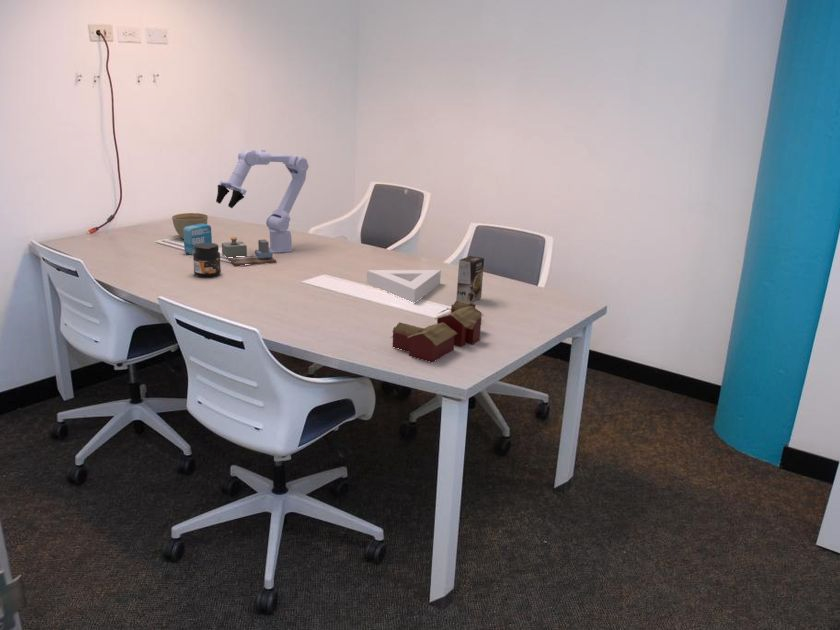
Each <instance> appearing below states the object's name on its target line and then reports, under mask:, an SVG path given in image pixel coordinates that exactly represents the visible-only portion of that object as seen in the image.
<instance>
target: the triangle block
mask: <svg viewBox="0 0 840 630" xmlns="http://www.w3.org/2000/svg"><path fill="white" fill-rule="evenodd" d="M441 273H442V269H380V270H379V269H372V270H371V269H369V270H368V269H367V270H366V284H367V283H368V284H370V285H373V286H375V287H377V288H380V289H382V290H385V291H387V292H390V293H392V294H394V295H397V296H399V297H401V298H404V299H406V300H409V301H411V302H413V303H414V302H416V301H417V300H419V299H420V298H421V297H423V296H424V295H425V296H426V295H428V294H429V293H430V292H431V291H433V290H434V289H436V288H437V287H438V286H439V285H441V277H442V275H441ZM368 284H367V285H368ZM370 285H369V286H370ZM437 285H438V286H437ZM375 287H374V288H375ZM377 288H376V289H377ZM433 288H434V289H433ZM432 289H433V290H432ZM382 290H381V291H382ZM428 292H429V293H428ZM427 293H428V294H427ZM425 296H424V297H425ZM424 297H423V298H424ZM421 299H422V298H421ZM421 299H420V300H421ZM420 300H419V301H420ZM417 302H418V301H417ZM417 302H416V303H417Z"/></svg>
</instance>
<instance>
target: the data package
mask: <svg viewBox="0 0 840 630" xmlns="http://www.w3.org/2000/svg"><path fill="white" fill-rule="evenodd" d="M183 234H184V240H183V247H184V248H183V249H184V253H186V254H188V255H192V256H193V253H194V252H195V251H194V245H196V244H199V243H213V241H212V238H213V237H212V226H211V225H209V224H207V225H206V224H197V225H192V226H187V227H185V228H184V229H183Z"/></svg>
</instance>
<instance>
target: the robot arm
mask: <svg viewBox="0 0 840 630" xmlns="http://www.w3.org/2000/svg"><path fill="white" fill-rule="evenodd" d="M271 162H272V163H282V164H284V165H285V167H286V169H287V171H288V172H289V173H290V176H291V178H292V179H291V181H290V182H289V185H288V187H287V189H286V191H285V192H284V195H283V197H282V199H281V201H280V203H279V205H278V207H277V209H275V210H273V211H272V212H271V214H270V215H269V216H267V218H266V223H265V224H266V225H265V226H267V228H268V231H269V250H270V251H272V252H273V254H274V253H275V254H276V253H287V252H293V249H292V246H293V245H292V234H291V231H289V226H290V221H291V216H290V213H291V210H292V208H293V206H294V204H295V202H296V200H297V198H298V196H299V194H300V192H301V190H302V187H303V186H304V184H305V182H306V177H307V171H308V169H309V168H310V166H309V163H308V160H307V158H305V157H303V156H302V157H301V156H298V155H297V156H296V155H294V154H288V153H270V152H269V151H267V150H266V149H261V150H255V149H252V150H251V151H249V150H246V149H245V150H242V151H241V152H239V153H238V155H237V162H236V165H235V167H234V169H233V171H232V173H231V175H230V176H229V179H228V181H223V180H220V181H219V184H218V185H217V193H216V200H215V202H216V203H217V204H219V205H220V204H222V202H223V200H224V198H225V197H226V196H227V194H228V193H230V191H232V194H231V197H230V200H229V202H228V206H227V207H229V208H230V209H233V208H234V207H235V206H236V205H237V204H238V203H239V202H240V201H241V200H243V199H244V198H245V195H246V194H247V190H246V189H245V188H242V186H243V184H244V182H245V181H246V178H247V176H248V173H249V172H250V171H251V168H252V166H253V167H254V166H255V165H256V166H259V165H260V166H263V165H266V166H267V165H269V164H270V163H271Z"/></svg>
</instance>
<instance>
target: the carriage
mask: <svg viewBox="0 0 840 630" xmlns="http://www.w3.org/2000/svg"><path fill="white" fill-rule="evenodd" d="M257 241H258V242H257V243H258V249H255V250H254V254H255V255H254V256H257V257H258V259H266V258H272V257H273V254H274V253H273V252H272V251H270V250H269V248H270V241H268V240H267V239H258V240H257ZM273 258H274V257H273Z"/></svg>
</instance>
